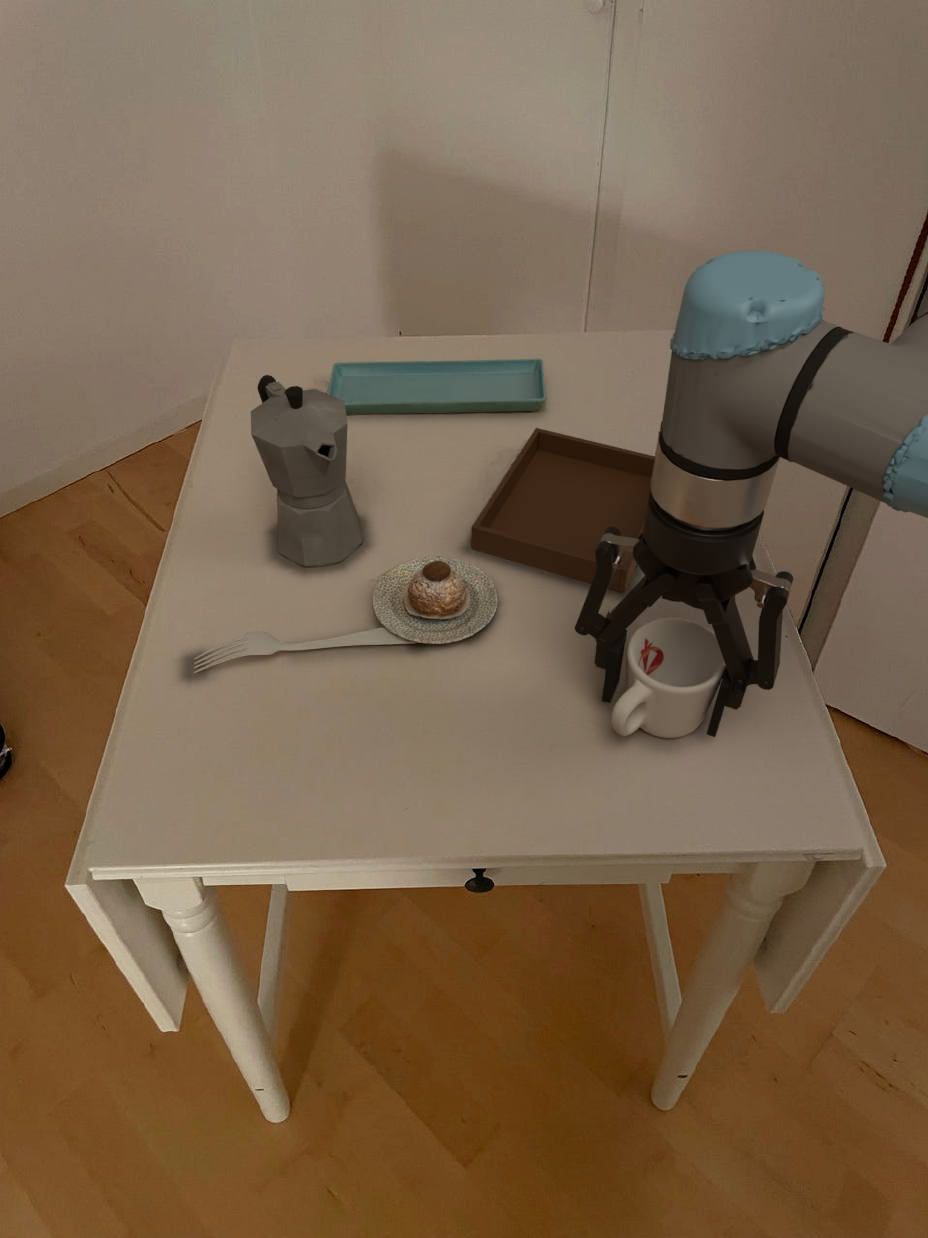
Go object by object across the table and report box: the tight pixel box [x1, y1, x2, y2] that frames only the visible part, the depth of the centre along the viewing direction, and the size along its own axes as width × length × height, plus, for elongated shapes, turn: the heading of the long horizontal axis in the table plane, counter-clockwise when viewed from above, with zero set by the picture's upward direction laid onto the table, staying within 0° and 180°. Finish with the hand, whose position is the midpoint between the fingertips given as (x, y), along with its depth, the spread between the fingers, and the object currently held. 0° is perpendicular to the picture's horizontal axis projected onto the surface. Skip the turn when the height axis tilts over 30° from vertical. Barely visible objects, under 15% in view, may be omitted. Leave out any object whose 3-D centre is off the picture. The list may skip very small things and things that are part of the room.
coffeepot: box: [250, 374, 363, 568], centre depth 89 cm, size 15×9×18 cm, turn 32°
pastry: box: [371, 555, 499, 645], centre depth 86 cm, size 12×12×5 cm
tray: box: [471, 427, 655, 594], centre depth 96 cm, size 16×18×3 cm
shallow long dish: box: [327, 358, 547, 415], centre depth 111 cm, size 26×9×2 cm, turn 89°
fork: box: [193, 626, 418, 674], centre depth 85 cm, size 3×21×3 cm, turn 99°
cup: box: [610, 617, 726, 739], centre depth 76 cm, size 11×8×8 cm
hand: (661, 706), depth 77 cm, fingers closed on cup, 8 cm apart
